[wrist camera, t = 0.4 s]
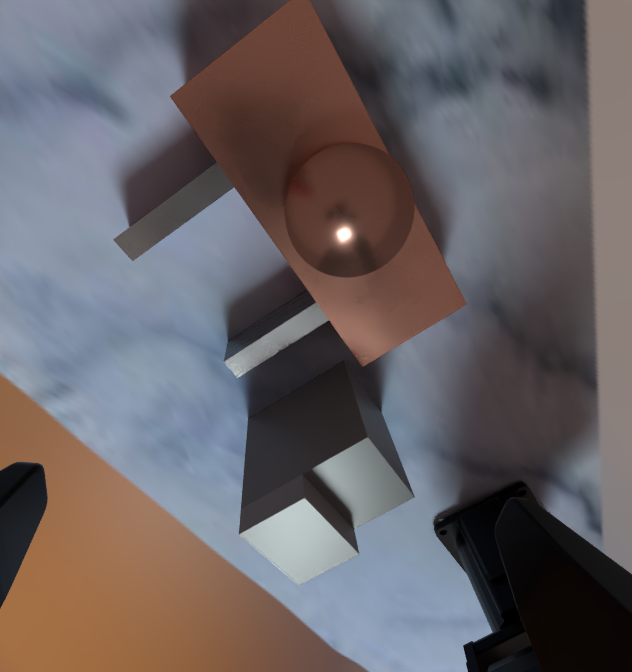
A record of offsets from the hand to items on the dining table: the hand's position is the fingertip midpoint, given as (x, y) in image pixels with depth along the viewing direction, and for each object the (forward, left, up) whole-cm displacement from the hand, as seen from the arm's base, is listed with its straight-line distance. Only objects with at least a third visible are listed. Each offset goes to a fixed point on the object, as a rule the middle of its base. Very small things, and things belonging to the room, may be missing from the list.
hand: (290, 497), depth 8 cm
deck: (+2, -1, -12) cm, 13 cm away
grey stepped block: (-7, +3, -12) cm, 15 cm away
